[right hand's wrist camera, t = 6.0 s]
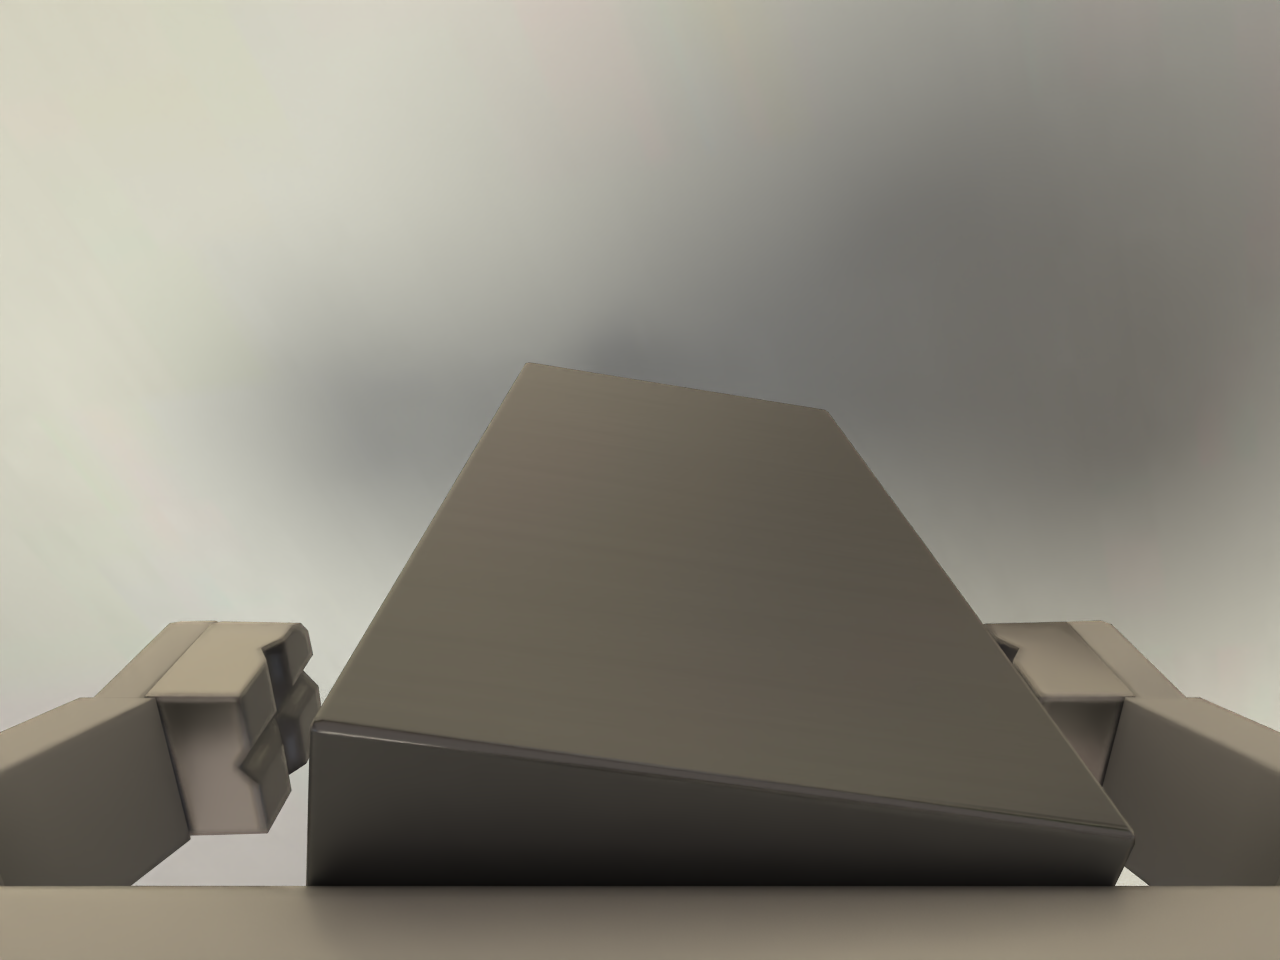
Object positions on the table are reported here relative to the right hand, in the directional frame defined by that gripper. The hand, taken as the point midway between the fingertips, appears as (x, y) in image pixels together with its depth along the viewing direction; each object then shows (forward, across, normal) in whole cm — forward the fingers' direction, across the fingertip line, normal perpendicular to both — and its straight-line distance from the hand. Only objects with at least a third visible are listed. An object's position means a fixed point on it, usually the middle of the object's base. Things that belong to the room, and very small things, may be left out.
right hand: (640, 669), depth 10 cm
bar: (+5, -1, -10) cm, 11 cm away
